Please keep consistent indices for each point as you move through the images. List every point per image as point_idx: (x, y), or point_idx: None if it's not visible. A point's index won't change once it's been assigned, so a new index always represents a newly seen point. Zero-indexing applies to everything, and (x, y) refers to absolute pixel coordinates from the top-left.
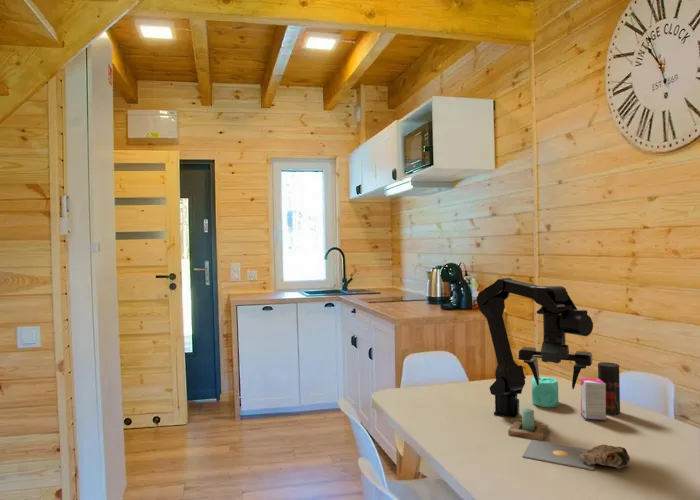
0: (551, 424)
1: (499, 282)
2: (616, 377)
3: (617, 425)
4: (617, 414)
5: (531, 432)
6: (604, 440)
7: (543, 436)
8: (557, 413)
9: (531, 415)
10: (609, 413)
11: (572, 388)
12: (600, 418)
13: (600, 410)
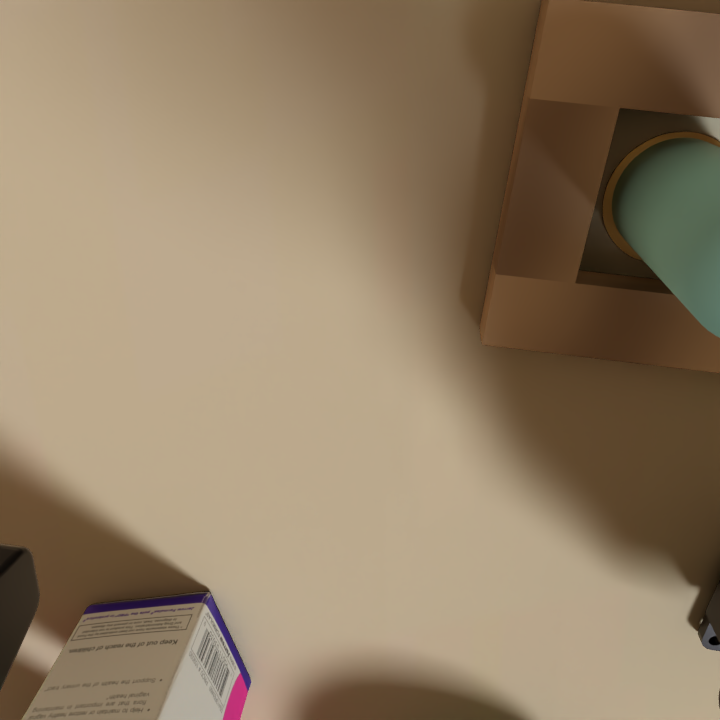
0: (446, 456)
1: None
2: None
3: None
4: None
5: (665, 71)
6: (18, 233)
7: (529, 78)
8: (403, 669)
9: (714, 197)
10: None
11: (18, 549)
12: (109, 616)
13: (80, 667)
